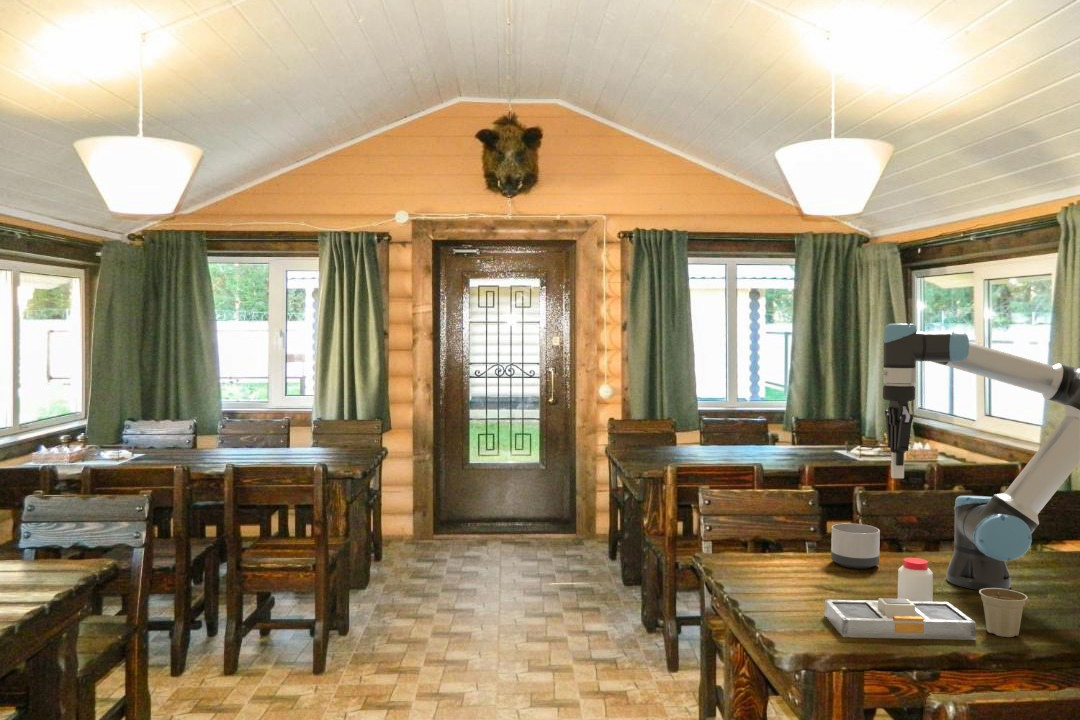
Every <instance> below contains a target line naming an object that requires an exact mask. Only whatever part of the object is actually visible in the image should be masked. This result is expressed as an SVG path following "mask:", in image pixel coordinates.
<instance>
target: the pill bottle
mask: <svg viewBox="0 0 1080 720" xmlns="http://www.w3.org/2000/svg"><path fill="white" fill-rule="evenodd" d="M902 561H903V562H902V563H903V564H902V565H901V566H900V567H899V568H898V569H897V599H908V600H910V601H925V602H934V601H933V599H934V598H933V594H934V593H933V592H934V591H933V590H934V589H933V588H934V587H933V586H934V584H933V583H934V573H933V571H932V570H931V569H930V568H929V561H928V560H926V559H923V558H920V557H919V558H918V557H905V558H903V560H902Z"/></svg>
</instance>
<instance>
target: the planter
mask: <svg viewBox="0 0 1080 720" xmlns="http://www.w3.org/2000/svg"><path fill="white" fill-rule="evenodd" d="M880 532H881V530H880V529H879V528H877V527H875V526H873V525H868V524H862V523H846V522H845V523H837V524H833V525H832V526H831V541H830V542H831V548H830V553H831V555H830V559H831V560H832V561H833V562H834V563H836V564H838V565H840V566H842V567H844V568H848V569H854V568H855V569H858V570H863V569H864V570H865V569H871V568H873V567H875V566H878V565H879V563H880V545H881V544H880V543H881V542H880V538H881V537H880V536H881V535H880ZM855 569H854V570H855Z"/></svg>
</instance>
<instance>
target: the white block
mask: <svg viewBox="0 0 1080 720" xmlns="http://www.w3.org/2000/svg"><path fill="white" fill-rule="evenodd" d="M877 601H878V610H879V611H881V612H882V613H883V614H884V615H885V616H886V617H887V618H888V619H893V616H915V605H914V604H913V603H912V602H911V601H910V600H908V599H898V598H884V597H883V598H878V599H877Z"/></svg>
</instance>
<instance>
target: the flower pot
mask: <svg viewBox="0 0 1080 720" xmlns="http://www.w3.org/2000/svg"><path fill="white" fill-rule="evenodd" d="M978 593H979V595H980V598H981V601H982V604H983V612H984V617H985V618H984V619H985V626H986V631H987V632H988V633H989V634H994V635H996V636H998V637H1003V638H1005V637H1006V638H1014V637H1015V636H1016V637H1018V636H1019V635H1020V634H1019V633H1020V627H1021V622H1022V615H1023V610H1024V607H1025V605H1026V601H1028V596H1027V595H1026V594H1025V593H1023V592H1019V591H1017V590H1016V591H1015V590H1012V589H1001V588H985V589H981V590H978Z"/></svg>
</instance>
